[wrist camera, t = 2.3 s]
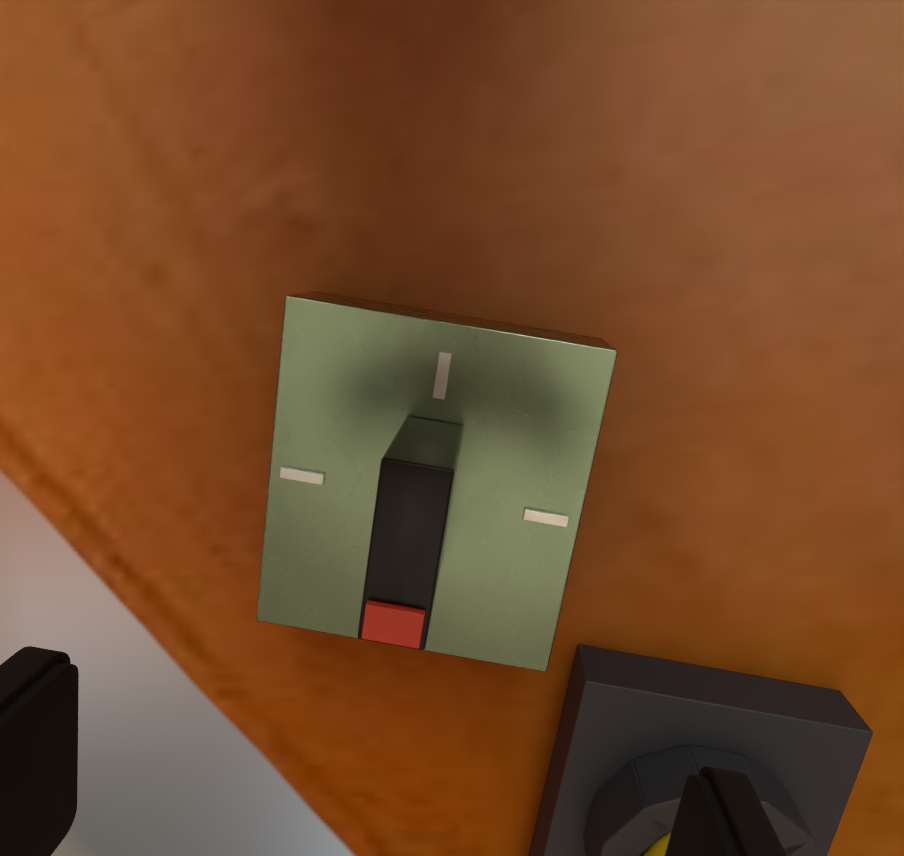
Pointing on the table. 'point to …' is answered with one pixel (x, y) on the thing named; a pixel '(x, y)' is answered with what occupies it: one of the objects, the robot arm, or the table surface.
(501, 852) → the table surface
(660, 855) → the button
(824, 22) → the table surface
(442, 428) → the black upright block
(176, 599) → the table surface
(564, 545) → the dial panel
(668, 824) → the button box
